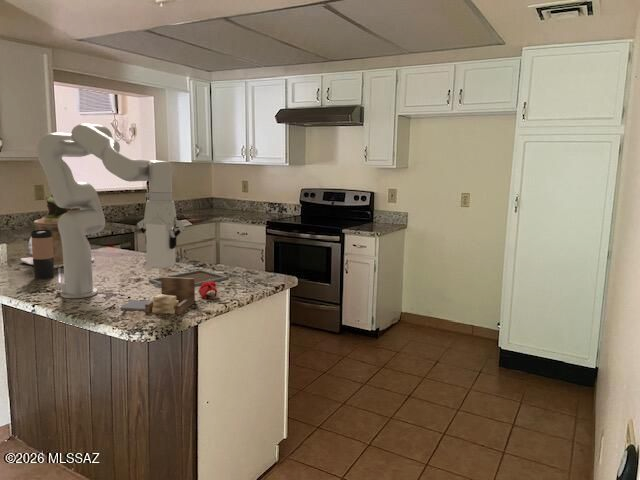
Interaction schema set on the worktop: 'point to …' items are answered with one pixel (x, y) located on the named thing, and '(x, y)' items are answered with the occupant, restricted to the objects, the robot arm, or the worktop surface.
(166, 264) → the milk carton
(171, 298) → the offcut top
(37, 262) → the travel mug
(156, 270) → the worktop surface
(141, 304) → the pad
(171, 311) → the offcut low
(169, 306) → the offcut mid
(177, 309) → the rack
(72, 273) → the robot arm
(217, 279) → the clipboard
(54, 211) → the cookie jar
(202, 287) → the red rounded piece
